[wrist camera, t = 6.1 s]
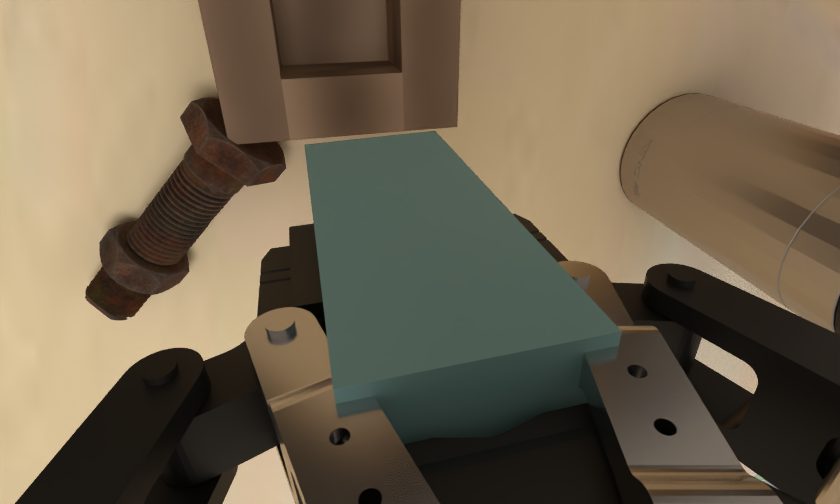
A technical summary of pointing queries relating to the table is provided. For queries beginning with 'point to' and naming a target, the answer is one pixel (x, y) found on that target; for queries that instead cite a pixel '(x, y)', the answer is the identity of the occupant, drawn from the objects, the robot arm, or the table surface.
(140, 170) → the table surface
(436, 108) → the socket
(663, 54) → the table surface
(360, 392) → the peg
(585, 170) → the table surface
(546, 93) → the table surface
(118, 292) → the bolt
